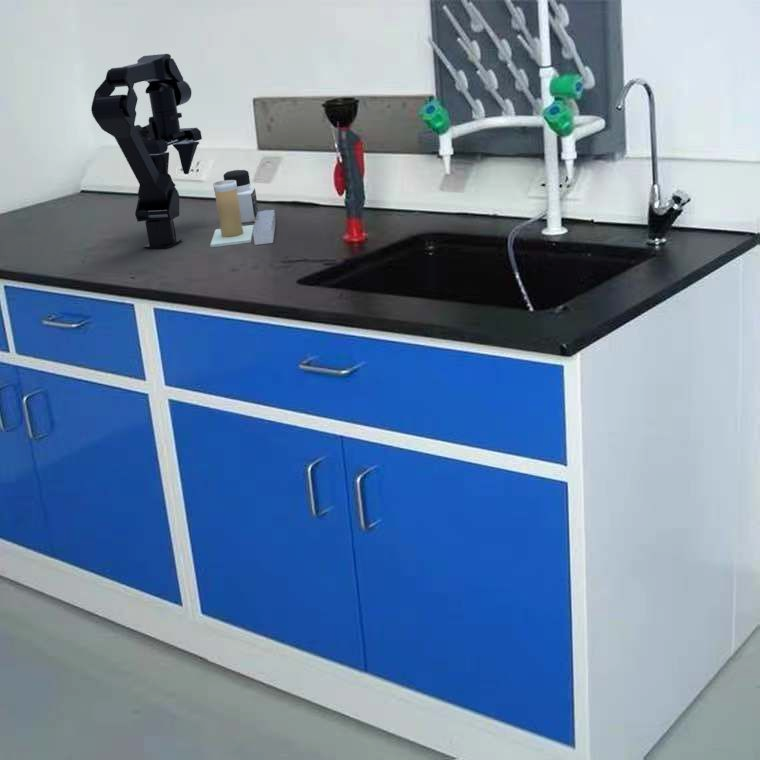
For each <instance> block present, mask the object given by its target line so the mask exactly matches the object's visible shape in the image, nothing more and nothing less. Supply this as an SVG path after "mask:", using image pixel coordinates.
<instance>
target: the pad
mask: <svg viewBox="0 0 760 760" xmlns="http://www.w3.org/2000/svg"><path fill="white" fill-rule="evenodd" d="M242 227H243V234H242V235H239V236H235V237H222V236H221V229H220V228H217V229H215V230H214V233H213V236H212V238H211V242H210V245H209V246H210V248H217V247H218V248H219V247H224V246H225V247H227V246H233V245H241V244H251V243H252V239H253V237H254V236H253V229H254V224H250V225H248V224H247V225H242Z"/></svg>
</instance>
